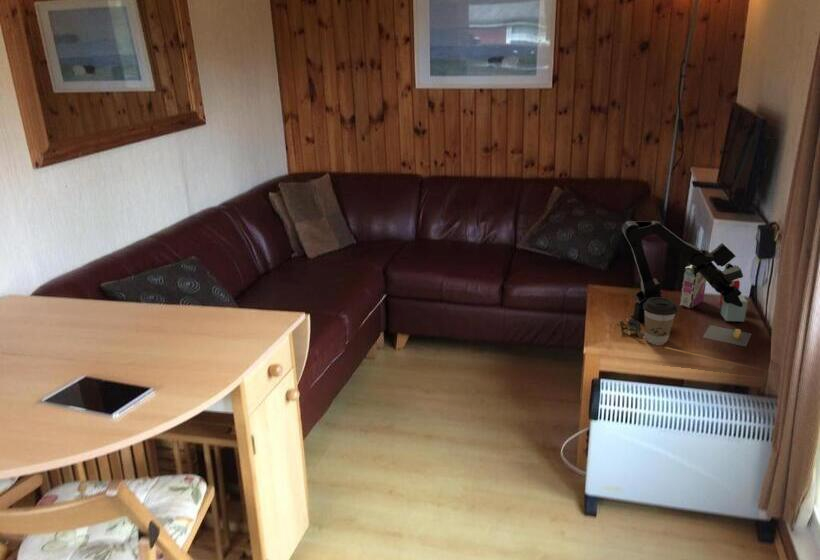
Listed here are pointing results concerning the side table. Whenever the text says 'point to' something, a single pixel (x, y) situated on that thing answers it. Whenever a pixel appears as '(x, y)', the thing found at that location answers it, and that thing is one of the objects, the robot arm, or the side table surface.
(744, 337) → the mat
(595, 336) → the side table surface
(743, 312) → the block
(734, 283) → the beverage can
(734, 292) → the robot arm
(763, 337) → the side table surface
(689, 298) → the candy bar box
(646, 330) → the coffee cup
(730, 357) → the side table surface
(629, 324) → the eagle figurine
